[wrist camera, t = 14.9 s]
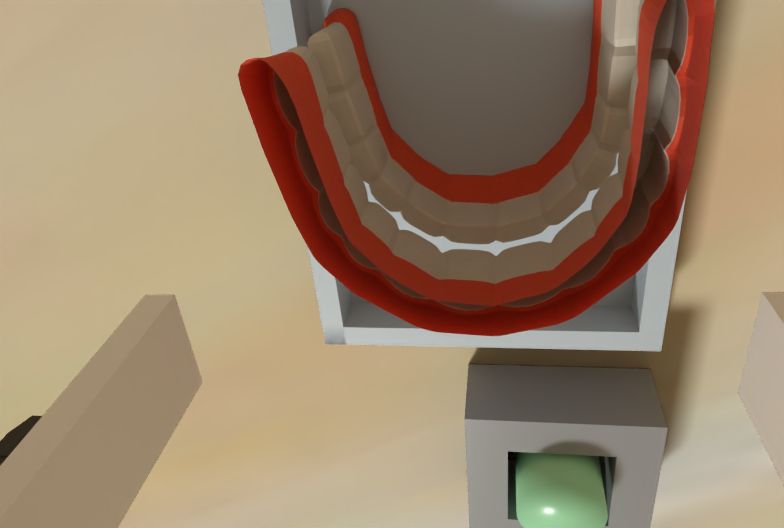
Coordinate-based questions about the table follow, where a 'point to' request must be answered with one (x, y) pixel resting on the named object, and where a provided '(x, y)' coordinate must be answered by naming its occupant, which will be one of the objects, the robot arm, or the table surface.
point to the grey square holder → (563, 435)
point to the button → (559, 491)
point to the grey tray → (480, 142)
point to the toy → (489, 193)
